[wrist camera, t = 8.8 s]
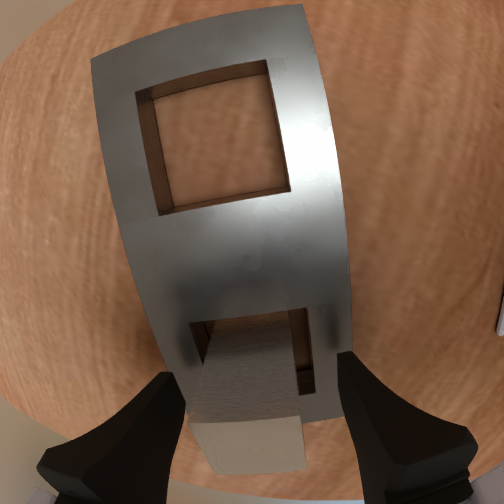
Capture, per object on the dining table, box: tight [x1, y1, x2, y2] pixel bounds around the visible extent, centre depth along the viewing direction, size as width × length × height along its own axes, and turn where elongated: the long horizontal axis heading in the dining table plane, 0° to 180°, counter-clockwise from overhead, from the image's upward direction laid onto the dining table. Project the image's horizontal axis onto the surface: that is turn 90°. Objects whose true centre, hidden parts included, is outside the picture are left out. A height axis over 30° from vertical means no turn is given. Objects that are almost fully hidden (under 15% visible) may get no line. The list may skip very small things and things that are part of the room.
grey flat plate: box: [90, 4, 352, 423], centre depth 13 cm, size 9×20×2 cm, turn 10°
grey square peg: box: [187, 310, 307, 475], centre depth 12 cm, size 4×4×7 cm
